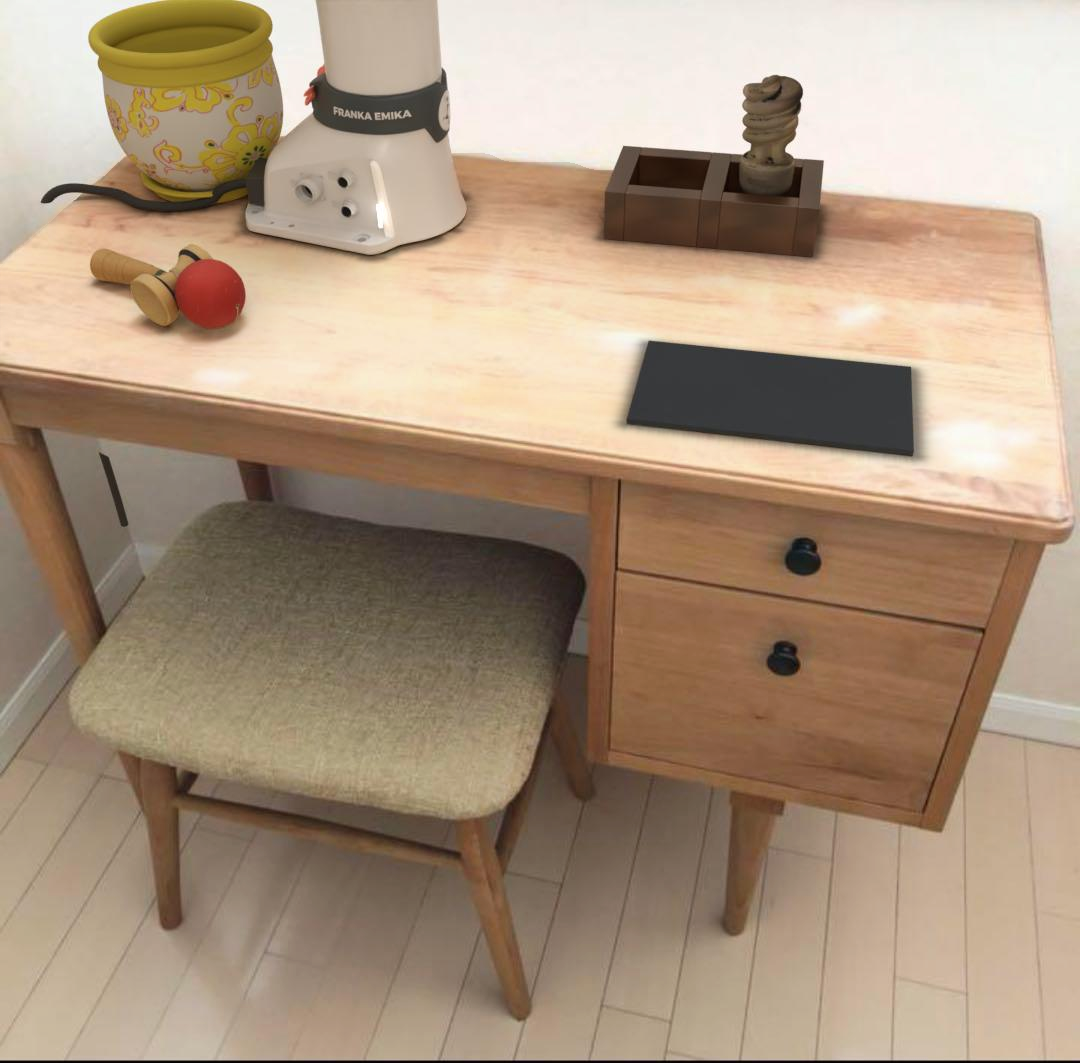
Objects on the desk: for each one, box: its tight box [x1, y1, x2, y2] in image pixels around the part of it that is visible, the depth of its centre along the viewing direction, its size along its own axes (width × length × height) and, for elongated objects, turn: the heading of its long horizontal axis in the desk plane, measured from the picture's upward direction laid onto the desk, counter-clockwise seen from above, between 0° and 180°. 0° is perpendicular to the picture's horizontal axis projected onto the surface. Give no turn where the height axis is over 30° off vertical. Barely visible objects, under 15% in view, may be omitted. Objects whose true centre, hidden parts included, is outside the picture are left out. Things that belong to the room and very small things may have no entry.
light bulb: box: [739, 74, 804, 197], centre depth 117 cm, size 6×6×15 cm
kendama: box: [89, 243, 247, 329], centre depth 110 cm, size 8×6×18 cm
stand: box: [603, 145, 825, 258], centre depth 121 cm, size 20×11×5 cm, turn 78°
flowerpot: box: [87, 0, 284, 205], centre depth 127 cm, size 18×18×16 cm
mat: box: [626, 340, 915, 456], centre depth 99 cm, size 22×12×1 cm, turn 78°
